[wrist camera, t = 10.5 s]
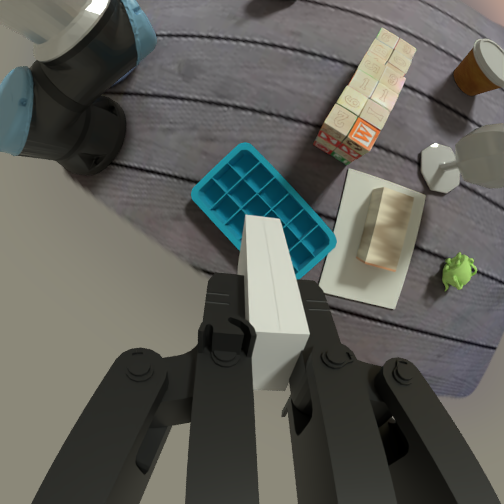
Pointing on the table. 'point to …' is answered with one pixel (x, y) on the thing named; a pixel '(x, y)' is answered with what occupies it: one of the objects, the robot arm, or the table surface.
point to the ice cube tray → (262, 205)
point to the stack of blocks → (366, 99)
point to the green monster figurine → (458, 271)
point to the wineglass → (466, 160)
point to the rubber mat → (348, 240)
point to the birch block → (385, 228)
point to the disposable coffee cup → (481, 68)
